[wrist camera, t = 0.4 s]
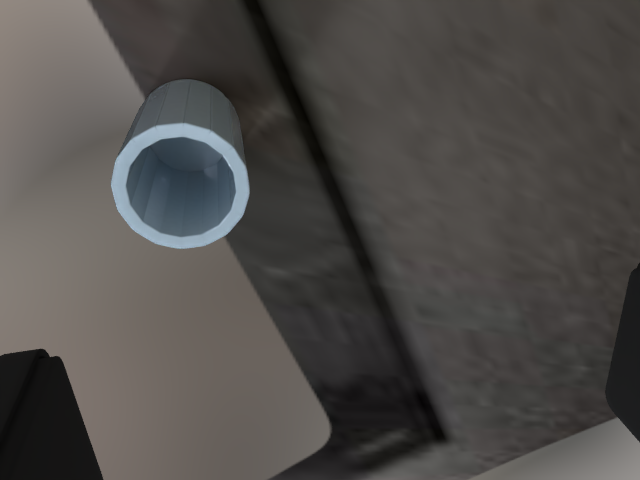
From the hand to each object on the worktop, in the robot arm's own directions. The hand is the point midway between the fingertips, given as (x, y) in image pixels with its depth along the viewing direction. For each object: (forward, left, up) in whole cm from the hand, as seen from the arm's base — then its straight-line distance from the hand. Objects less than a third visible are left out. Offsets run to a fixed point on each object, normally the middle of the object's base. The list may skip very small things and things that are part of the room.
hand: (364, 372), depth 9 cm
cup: (+2, -4, -25) cm, 25 cm away
